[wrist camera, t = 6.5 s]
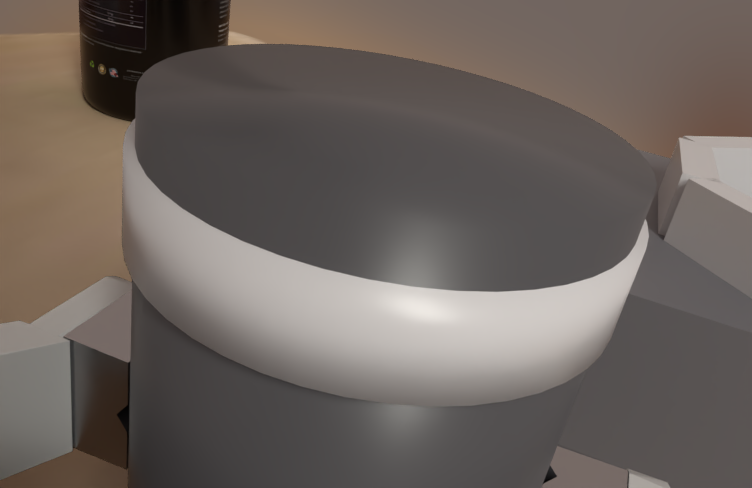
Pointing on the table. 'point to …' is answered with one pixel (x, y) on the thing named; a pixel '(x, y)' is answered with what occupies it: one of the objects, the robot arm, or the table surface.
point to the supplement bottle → (140, 43)
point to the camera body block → (682, 331)
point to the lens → (364, 270)
